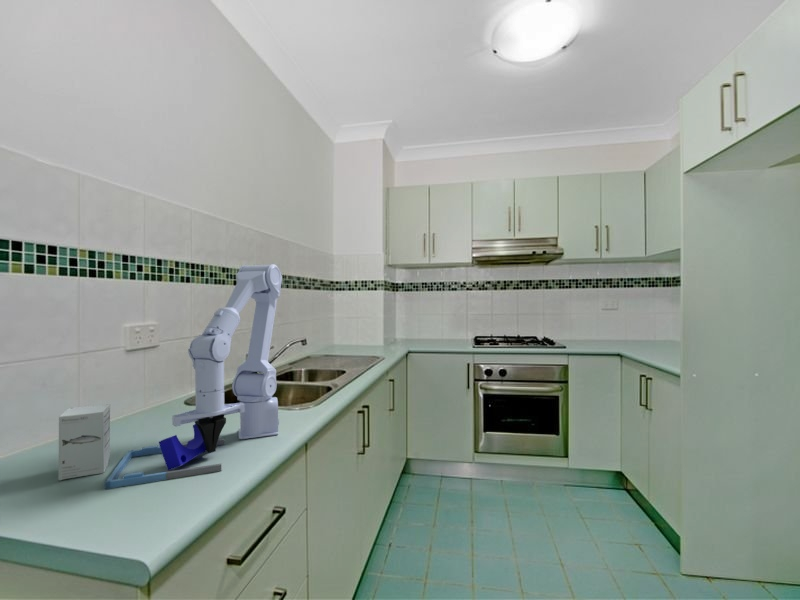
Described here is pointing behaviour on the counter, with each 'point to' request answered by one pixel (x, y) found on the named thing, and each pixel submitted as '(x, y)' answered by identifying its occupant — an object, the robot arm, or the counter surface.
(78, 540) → the counter surface
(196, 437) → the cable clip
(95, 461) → the supplement box
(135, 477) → the blue grey open frame
